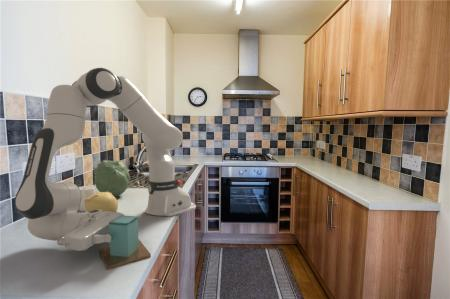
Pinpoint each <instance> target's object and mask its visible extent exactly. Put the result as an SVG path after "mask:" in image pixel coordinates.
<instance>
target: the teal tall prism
mask: <svg viewBox="0 0 450 299" xmlns="http://www.w3.org/2000/svg"><path fill="white" fill-rule="evenodd" d="M138 218H139V216H135V215H124V216H123V215H120V216H119V217H117V218H115V219H114V220H112V221H110V222H109V234H113V240H112V241H111V242H109V246H110V255H113V256H122V257H129V256H130V255H131V254H132V253H133V252H134V251H135V250H137V249H138V239H139V219H138Z"/></svg>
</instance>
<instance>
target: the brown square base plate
mask: <svg viewBox="0 0 450 299" xmlns="http://www.w3.org/2000/svg"><path fill="white" fill-rule="evenodd" d="M99 253H100V255H101V259H102V260H103V263H104V265H105V268H106V270H110V269H111V270H112V269H115V268H118V267H121V266H124V265H127V264H131V263H134V262H138V261H141V260H145V259H147V258H151V257H152V254H151V252H150V251H149V250H148V249H147V248H146V246H145V245H144V243H143V242H142V241H141V240H140V239H139V238H138V249H137V250H135V251H134V252H133V253H132V254H131V255H130V256H129V257H122V256H113V255H110V245H109V246H106V247H101V248H99Z"/></svg>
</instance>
